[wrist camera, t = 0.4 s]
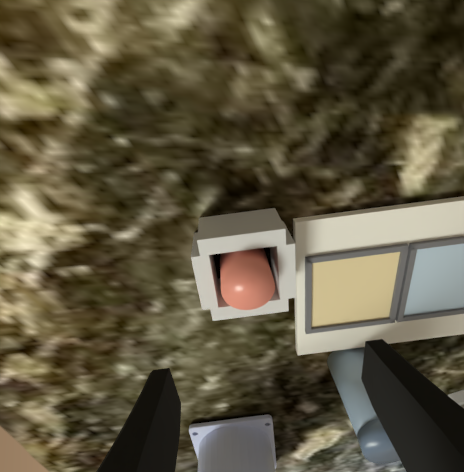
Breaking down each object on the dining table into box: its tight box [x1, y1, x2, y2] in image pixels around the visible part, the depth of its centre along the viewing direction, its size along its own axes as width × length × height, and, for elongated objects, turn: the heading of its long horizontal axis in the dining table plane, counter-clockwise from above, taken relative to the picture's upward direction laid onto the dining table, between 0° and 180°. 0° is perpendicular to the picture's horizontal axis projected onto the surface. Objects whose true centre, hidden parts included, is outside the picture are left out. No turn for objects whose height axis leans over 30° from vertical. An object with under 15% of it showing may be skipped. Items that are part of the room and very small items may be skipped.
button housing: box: [191, 208, 296, 321], centre depth 18 cm, size 6×6×3 cm
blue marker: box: [327, 347, 400, 464], centre depth 22 cm, size 4×4×7 cm
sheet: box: [293, 196, 464, 355], centre depth 21 cm, size 12×15×1 cm
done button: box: [220, 248, 275, 310], centre depth 17 cm, size 3×3×3 cm
